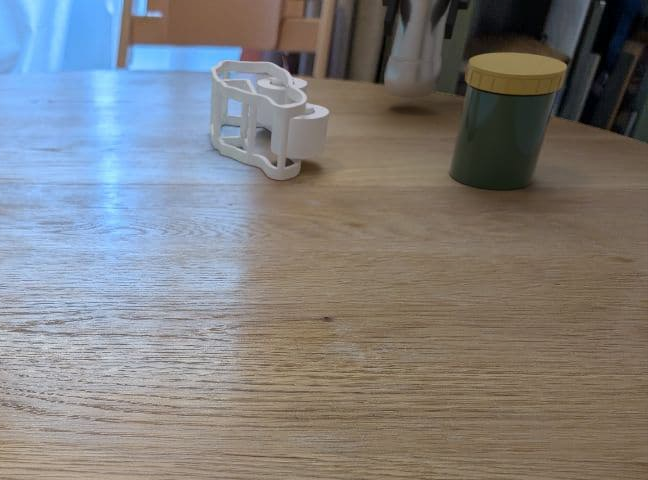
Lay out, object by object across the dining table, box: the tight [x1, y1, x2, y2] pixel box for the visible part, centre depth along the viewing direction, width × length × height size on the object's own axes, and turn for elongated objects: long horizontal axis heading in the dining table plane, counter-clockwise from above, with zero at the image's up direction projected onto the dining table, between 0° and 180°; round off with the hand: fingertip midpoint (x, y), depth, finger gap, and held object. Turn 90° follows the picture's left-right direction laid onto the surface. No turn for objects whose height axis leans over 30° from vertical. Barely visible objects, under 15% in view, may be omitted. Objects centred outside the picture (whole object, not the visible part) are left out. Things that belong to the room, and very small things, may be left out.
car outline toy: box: [209, 59, 330, 181], centre depth 93 cm, size 20×11×7 cm, turn 1°
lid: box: [464, 52, 568, 95], centre depth 81 cm, size 9×9×2 cm
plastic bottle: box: [383, 0, 451, 99], centre depth 100 cm, size 6×7×20 cm
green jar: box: [448, 83, 558, 191], centre depth 84 cm, size 8×8×10 cm
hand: (417, 30), depth 98 cm, fingers closed on plastic bottle, 6 cm apart
